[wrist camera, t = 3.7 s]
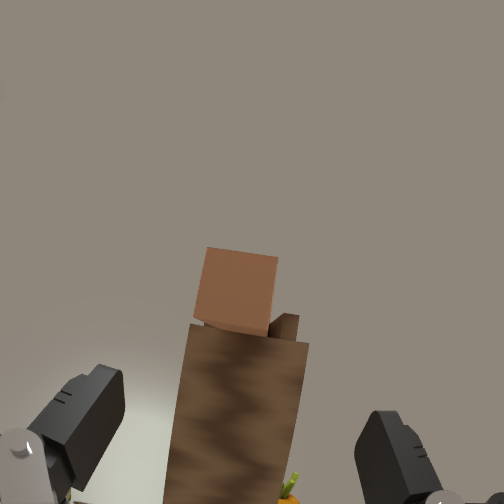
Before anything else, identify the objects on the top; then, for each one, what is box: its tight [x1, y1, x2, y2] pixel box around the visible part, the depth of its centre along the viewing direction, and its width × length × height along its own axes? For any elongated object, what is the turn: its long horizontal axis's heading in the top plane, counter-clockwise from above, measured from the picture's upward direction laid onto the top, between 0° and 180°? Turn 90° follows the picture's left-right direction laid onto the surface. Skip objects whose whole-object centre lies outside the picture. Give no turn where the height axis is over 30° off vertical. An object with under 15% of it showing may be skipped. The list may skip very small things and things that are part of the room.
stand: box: [163, 313, 309, 504], centre depth 25 cm, size 11×15×34 cm
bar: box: [193, 247, 278, 337], centre depth 25 cm, size 4×22×4 cm, turn 178°
